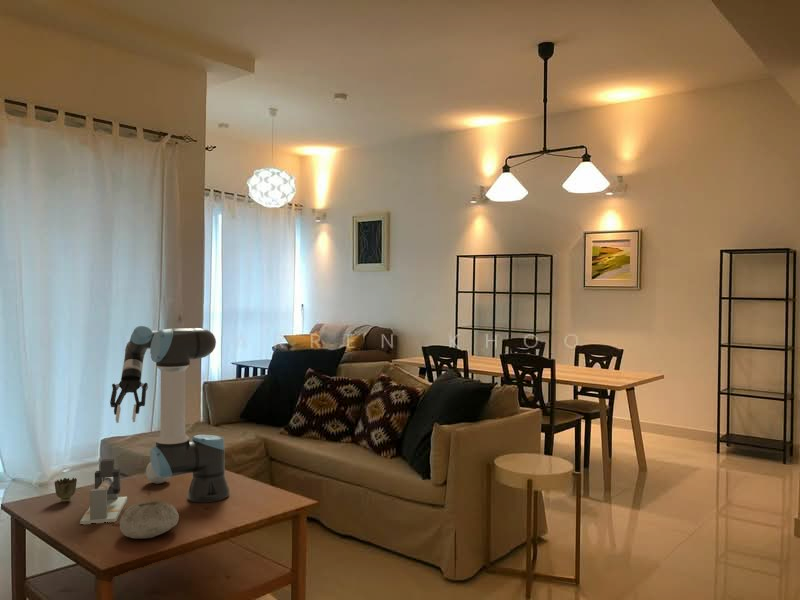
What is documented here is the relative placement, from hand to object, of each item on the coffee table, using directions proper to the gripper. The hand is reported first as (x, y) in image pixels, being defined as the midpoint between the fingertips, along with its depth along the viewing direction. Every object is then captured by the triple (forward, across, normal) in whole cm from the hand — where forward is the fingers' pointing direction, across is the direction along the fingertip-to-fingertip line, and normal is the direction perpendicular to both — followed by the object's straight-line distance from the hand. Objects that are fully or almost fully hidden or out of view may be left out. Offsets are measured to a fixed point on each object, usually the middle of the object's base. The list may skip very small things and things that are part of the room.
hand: (125, 420), depth 249 cm
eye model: (+13, -11, -28) cm, 32 cm away
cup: (+24, +20, -16) cm, 35 cm away
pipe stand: (+35, +4, -5) cm, 35 cm away
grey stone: (+53, -15, +13) cm, 57 cm away
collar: (+28, +4, -5) cm, 28 cm away
